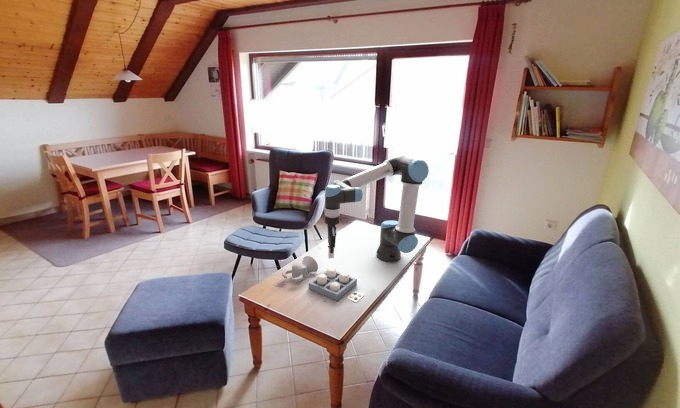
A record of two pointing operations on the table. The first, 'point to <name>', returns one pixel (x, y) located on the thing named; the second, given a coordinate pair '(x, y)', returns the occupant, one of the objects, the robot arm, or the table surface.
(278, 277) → the table surface
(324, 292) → the button board
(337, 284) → the button
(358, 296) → the card
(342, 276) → the button
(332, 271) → the button
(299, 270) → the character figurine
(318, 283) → the button
